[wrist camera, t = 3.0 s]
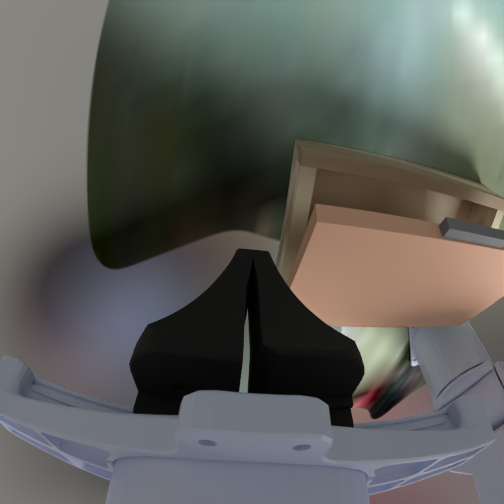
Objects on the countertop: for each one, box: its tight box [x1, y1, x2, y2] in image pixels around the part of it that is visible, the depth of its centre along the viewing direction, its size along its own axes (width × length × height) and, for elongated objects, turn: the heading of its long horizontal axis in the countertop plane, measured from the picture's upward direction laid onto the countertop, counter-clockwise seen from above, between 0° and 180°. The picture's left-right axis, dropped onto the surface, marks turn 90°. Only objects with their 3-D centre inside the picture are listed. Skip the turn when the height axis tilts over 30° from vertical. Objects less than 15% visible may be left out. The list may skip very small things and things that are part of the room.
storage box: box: [276, 139, 504, 283], centre depth 21 cm, size 12×18×4 cm, turn 85°
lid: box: [287, 204, 504, 327], centre depth 17 cm, size 13×18×1 cm
